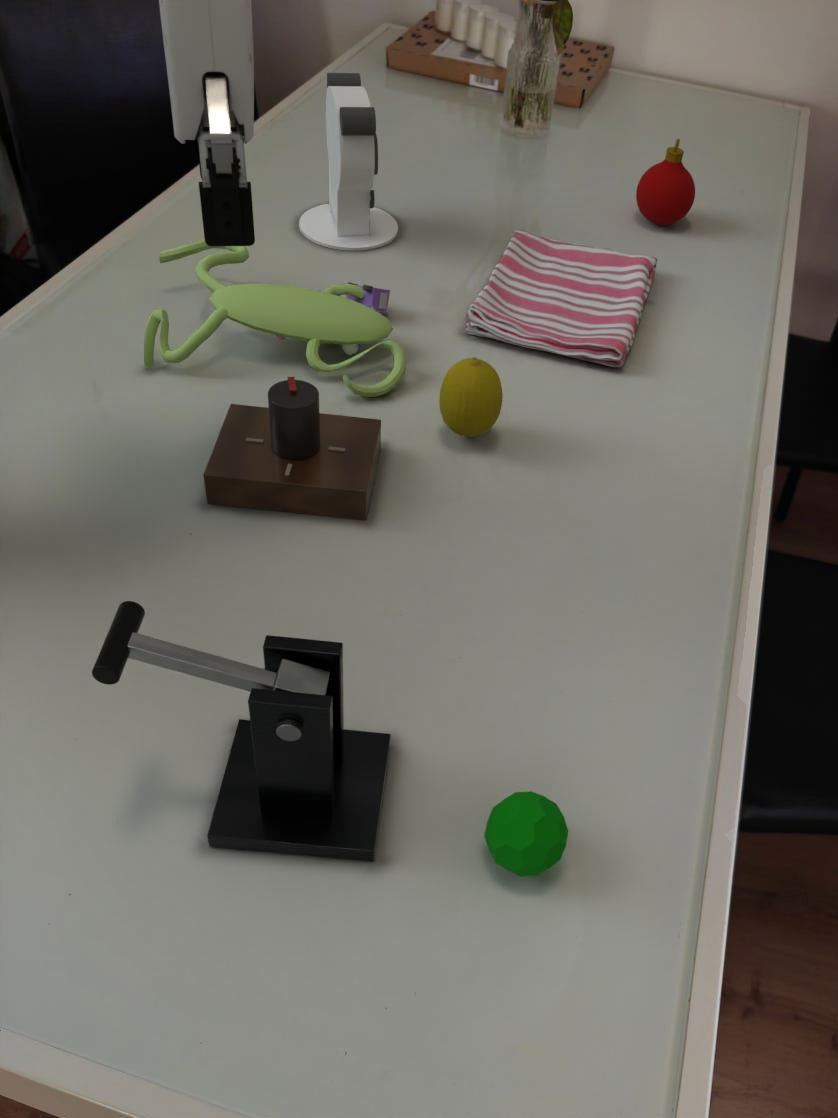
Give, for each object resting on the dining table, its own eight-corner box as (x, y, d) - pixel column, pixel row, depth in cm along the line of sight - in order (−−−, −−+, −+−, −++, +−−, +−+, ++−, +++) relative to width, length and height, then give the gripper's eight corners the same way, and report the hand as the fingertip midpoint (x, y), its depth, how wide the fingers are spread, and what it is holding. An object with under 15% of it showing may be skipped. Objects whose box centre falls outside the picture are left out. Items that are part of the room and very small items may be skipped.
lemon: (444, 413, 95) (450, 336, 89) (502, 425, 95) (512, 348, 89) (430, 448, 91) (435, 369, 86) (490, 460, 91) (500, 382, 85)
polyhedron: (522, 807, 66) (531, 763, 63) (577, 858, 64) (590, 815, 60) (465, 850, 63) (471, 806, 60) (520, 905, 61) (530, 863, 58)
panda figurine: (407, 252, 116) (413, 112, 105) (306, 254, 113) (301, 111, 103) (388, 204, 124) (392, 69, 113) (293, 206, 121) (288, 68, 110)
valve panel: (206, 504, 83) (202, 472, 81) (233, 432, 90) (230, 401, 88) (366, 520, 84) (366, 490, 82) (380, 447, 91) (381, 417, 88)
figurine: (178, 273, 108) (171, 221, 104) (428, 309, 108) (430, 259, 104) (113, 366, 96) (102, 311, 92) (395, 408, 95) (397, 354, 91)
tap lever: (89, 686, 55) (93, 658, 53) (116, 619, 58) (121, 591, 56) (309, 745, 57) (320, 720, 56) (323, 678, 61) (334, 653, 59)
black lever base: (208, 846, 62) (185, 725, 53) (240, 730, 68) (224, 604, 60) (373, 862, 62) (377, 744, 54) (390, 744, 69) (395, 621, 60)
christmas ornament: (681, 240, 124) (702, 156, 117) (625, 227, 125) (642, 142, 118) (692, 217, 129) (712, 134, 122) (637, 204, 130) (654, 122, 123)
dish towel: (458, 339, 104) (461, 307, 102) (514, 242, 120) (518, 212, 118) (622, 376, 102) (629, 345, 100) (657, 273, 118) (664, 243, 115)
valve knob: (323, 458, 84) (321, 403, 80) (273, 461, 83) (269, 406, 79) (317, 429, 87) (315, 375, 83) (269, 432, 86) (265, 377, 82)
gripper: (133, -126, 63) (169, 158, 76) (128, -45, 52) (171, 273, 64) (257, -119, 65) (272, 158, 77) (279, -39, 53) (292, 271, 66)
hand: (226, 210), depth 71 cm, fingers open, 9 cm apart
